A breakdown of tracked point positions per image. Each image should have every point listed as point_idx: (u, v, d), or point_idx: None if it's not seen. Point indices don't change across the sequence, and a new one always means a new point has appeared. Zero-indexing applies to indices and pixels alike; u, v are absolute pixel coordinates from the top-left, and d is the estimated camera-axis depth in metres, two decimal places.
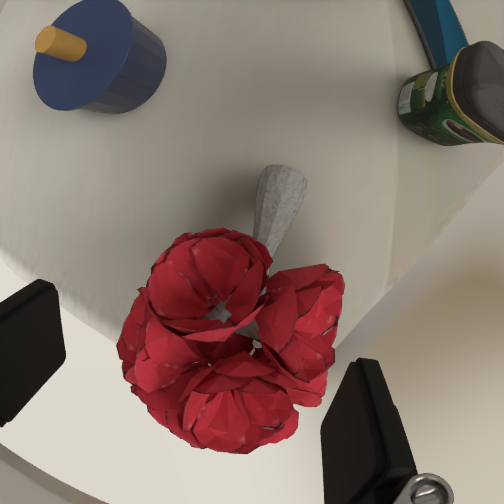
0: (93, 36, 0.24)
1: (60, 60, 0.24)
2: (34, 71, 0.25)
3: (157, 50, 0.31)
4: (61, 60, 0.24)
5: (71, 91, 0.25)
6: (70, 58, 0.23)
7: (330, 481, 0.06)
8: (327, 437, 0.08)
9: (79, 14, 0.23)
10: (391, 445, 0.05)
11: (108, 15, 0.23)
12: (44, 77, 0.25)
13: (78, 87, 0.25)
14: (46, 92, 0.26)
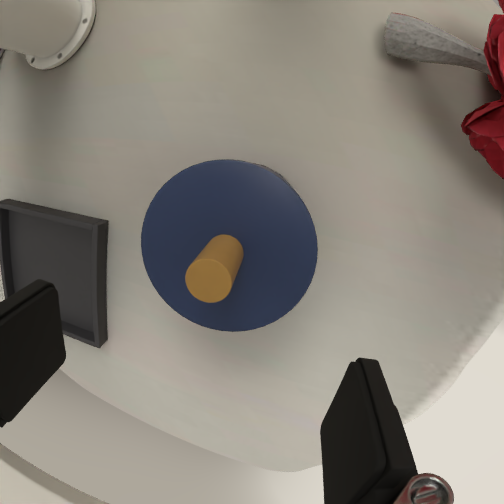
0: (210, 223, 0.23)
1: (233, 281, 0.24)
2: (235, 328, 0.26)
3: None
4: (233, 279, 0.24)
5: (289, 258, 0.23)
6: (240, 255, 0.22)
7: (330, 481, 0.06)
8: (327, 437, 0.08)
9: (163, 254, 0.24)
10: (391, 445, 0.05)
11: (180, 202, 0.23)
12: (250, 310, 0.25)
13: (286, 245, 0.23)
14: (277, 304, 0.24)
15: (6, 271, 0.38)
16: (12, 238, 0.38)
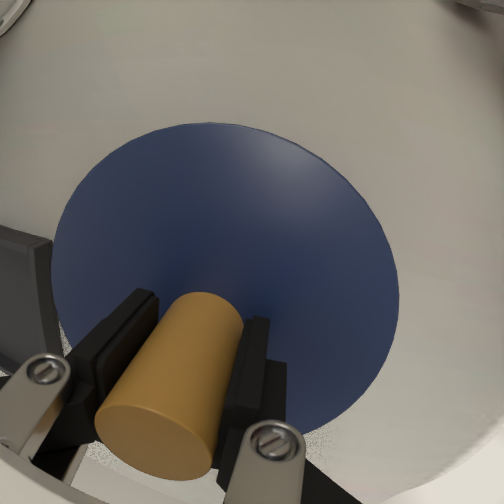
0: (171, 268, 0.10)
1: None
2: None
3: None
4: None
5: (341, 338, 0.10)
6: (237, 343, 0.09)
7: None
8: None
9: (91, 321, 0.11)
10: (245, 385, 0.06)
11: (108, 222, 0.10)
12: None
13: (337, 314, 0.10)
14: (308, 413, 0.12)
15: None
16: None
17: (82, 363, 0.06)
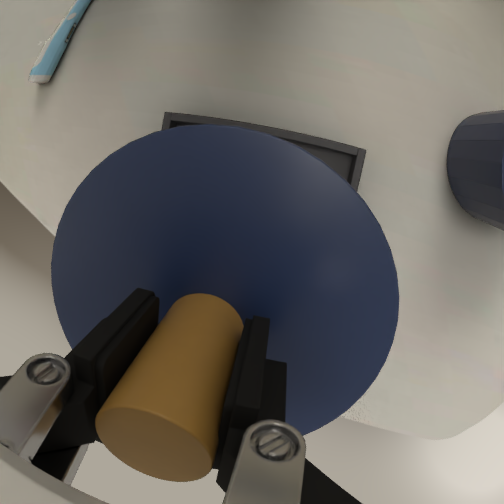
0: (171, 269, 0.10)
1: None
2: None
3: None
4: None
5: (341, 339, 0.10)
6: (237, 345, 0.09)
7: None
8: None
9: (91, 322, 0.11)
10: (245, 385, 0.06)
11: (108, 224, 0.10)
12: None
13: (337, 316, 0.10)
14: (308, 414, 0.12)
15: None
16: None
17: (82, 363, 0.06)
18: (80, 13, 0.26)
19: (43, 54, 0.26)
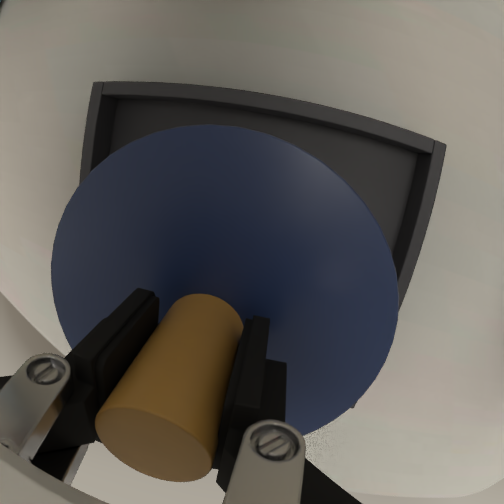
0: (171, 269, 0.10)
1: None
2: None
3: None
4: None
5: (340, 340, 0.11)
6: (237, 345, 0.09)
7: None
8: None
9: (91, 323, 0.11)
10: (244, 385, 0.06)
11: (108, 224, 0.10)
12: None
13: (337, 316, 0.10)
14: (308, 414, 0.12)
15: None
16: None
17: (82, 363, 0.06)
18: None
19: None
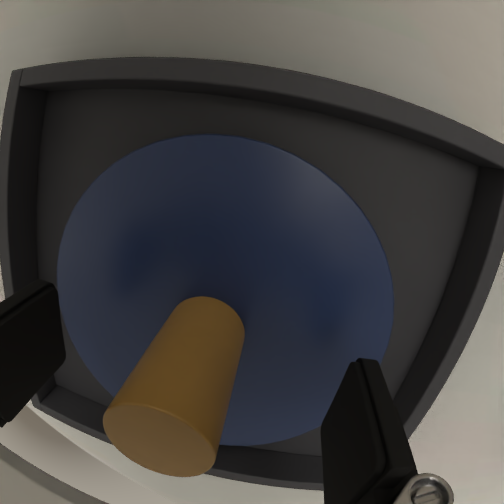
0: (174, 273, 0.11)
1: None
2: (233, 442, 0.13)
3: None
4: None
5: (338, 341, 0.11)
6: (238, 346, 0.10)
7: (330, 481, 0.06)
8: (327, 437, 0.08)
9: (96, 324, 0.12)
10: (391, 445, 0.05)
11: (113, 229, 0.11)
12: (259, 421, 0.12)
13: (334, 318, 0.11)
14: (307, 413, 0.12)
15: None
16: (47, 204, 0.12)
17: None
18: None
19: None
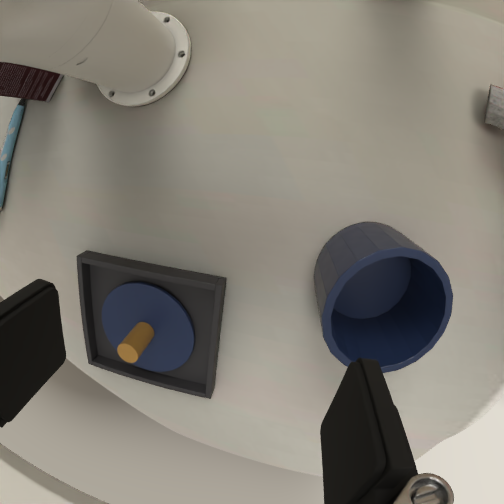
0: (135, 315, 0.39)
1: (152, 345, 0.40)
2: (158, 370, 0.41)
3: (369, 228, 0.31)
4: (152, 344, 0.40)
5: (178, 335, 0.39)
6: (149, 334, 0.38)
7: (330, 481, 0.06)
8: (327, 437, 0.08)
9: (114, 330, 0.40)
10: (391, 445, 0.05)
11: (118, 304, 0.39)
12: (164, 361, 0.40)
13: (175, 328, 0.39)
14: (177, 358, 0.40)
15: (89, 328, 0.40)
16: (95, 293, 0.40)
17: None
18: (10, 153, 0.35)
19: None
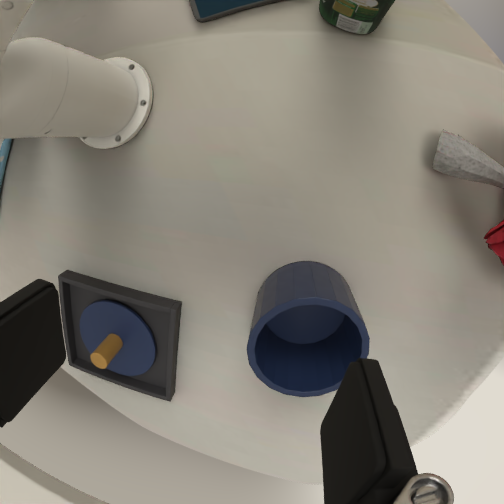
0: (106, 328, 0.44)
1: (121, 353, 0.45)
2: (127, 374, 0.46)
3: (302, 269, 0.36)
4: (121, 352, 0.45)
5: (142, 346, 0.44)
6: (118, 345, 0.43)
7: (330, 481, 0.06)
8: (327, 437, 0.08)
9: (90, 338, 0.45)
10: (391, 445, 0.05)
11: (92, 317, 0.43)
12: (131, 367, 0.45)
13: (140, 341, 0.44)
14: (142, 366, 0.45)
15: (69, 335, 0.45)
16: (74, 306, 0.45)
17: None
18: (0, 178, 0.39)
19: None
